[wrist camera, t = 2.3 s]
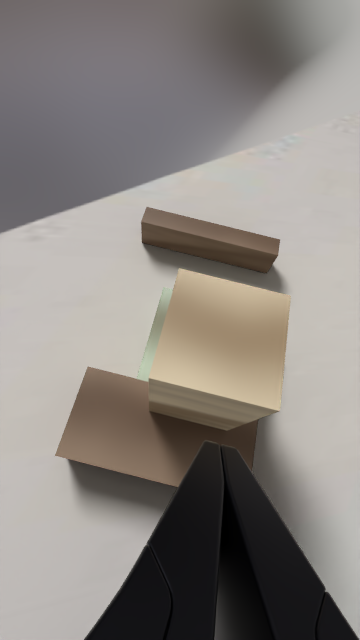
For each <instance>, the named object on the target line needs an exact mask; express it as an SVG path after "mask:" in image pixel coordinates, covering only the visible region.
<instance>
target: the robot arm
mask: <svg viewBox="0 0 360 640" xmlns="http://www.w3.org/2000/svg"><path fill="white" fill-rule="evenodd" d="M325 590H326V589H325V586H324V585H323V583H322V581H321V580H320V578H319V577H318V575H317V574H316V572H315V570H314V569H313V567H312V566H311V564H310V563H309V561H308V559H307V558H306V556H305V555H304V553H303V552H302V550H301V548H300V547H299V545H298V544H297V542H296V541H295V539H294V537H293V536H292V534H291V533H290V531H289V530H288V528H287V526H286V525H285V523H284V522H283V520H282V519H281V517H280V515H279V514H278V512H277V511H276V509H275V508H274V506H273V504H272V503H271V501H270V500H269V498H268V497H267V495H266V493H265V492H264V490H263V489H262V487H261V486H260V484H259V482H258V481H257V479H256V478H255V476H254V475H253V473H252V471H251V470H250V468H249V467H248V465H247V464H246V462H245V460H244V459H243V457H242V456H241V454H240V453H239V451H238V450H237V449H236V448H235V447H231V446H227V445H223V444H222V445H219V444H218V443H216V442H212V441H208V440H205V441H203V443H202V445H201V446H200V448H199V450H198V452H197V454H196V455H195V457H194V459H193V461H192V463H191V464H190V466H189V468H188V470H187V472H186V473H185V475H184V477H183V479H182V481H181V482H180V484H179V486H178V488H177V490H176V491H175V493H174V495H173V497H172V499H171V500H170V502H169V504H168V506H167V508H166V509H165V511H164V513H163V515H162V517H161V518H160V520H159V522H158V524H157V526H156V527H155V529H154V531H153V533H152V535H151V536H150V538H149V540H148V542H147V545H146V546H145V547H144V549H143V550H142V552H141V554H140V556H139V558H138V559H137V561H136V563H135V565H134V566H133V568H132V570H131V571H130V573H129V575H128V576H127V578H126V580H125V581H124V583H123V585H122V586H121V588H120V589H119V591H118V592H117V594H116V595H115V597H114V598H113V600H112V601H111V603H110V604H109V605H108V607H107V608H106V610H105V611H104V613H103V614H102V616H101V617H100V618H99V620H98V621H97V623H96V624H95V625H94V627H93V628H92V629H91V631H90V632H89V634H88V635H87V636H86V638H85V639H84V640H359V638H358V637H357V635H356V634H355V632H354V631H353V629H352V628H351V626H350V625H349V623H348V622H347V620H346V619H345V617H344V616H343V614H342V613H341V611H340V609H339V608H338V606H337V605H336V603H335V602H334V600H333V598H332V597H331V595H330V594H329V593H328V592H325Z"/></svg>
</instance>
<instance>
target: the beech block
mask: <svg viewBox="0 0 360 640" xmlns="http://www.w3.org/2000/svg"><path fill="white" fill-rule="evenodd" d="M290 298H291V296H290V295H286V294H281V293H277V292H273V291H269V290H265V289H261V288H257V287H253V286H249V285H245V284H241V283H237V282H233V281H229V280H225V279H221V278H217V277H213V276H209V275H205V274H201V273H197V272H193V271H189V270H185V269H181V268H179V271H178V274H177V278H176V281H175V285H174V288H173V292H172V296H171V299H170V303H169V306H168V310H167V314H166V317H165V321H164V324H163V328H162V331H161V335H160V339H159V342H158V346H157V349H156V353H155V356H154V360H153V364H152V367H151V371H150V374H149V411H152V412H155V413H159V414H163V415H167V416H171V417H175V418H179V419H183V420H187V421H191V422H195V423H199V424H203V425H207V426H211V427H214V428H218V429H222V430H226V431H227V430H230V429H233V428H235V427H238V426H241V425H244V424H246V423H249V422H252V421H254V420H257V419H260V418H263V417H265V416H268V415H271V414H273V413H276V412H279V411H280V405H281V394H282V384H283V373H284V362H285V352H286V341H287V330H288V320H289V309H290Z"/></svg>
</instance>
